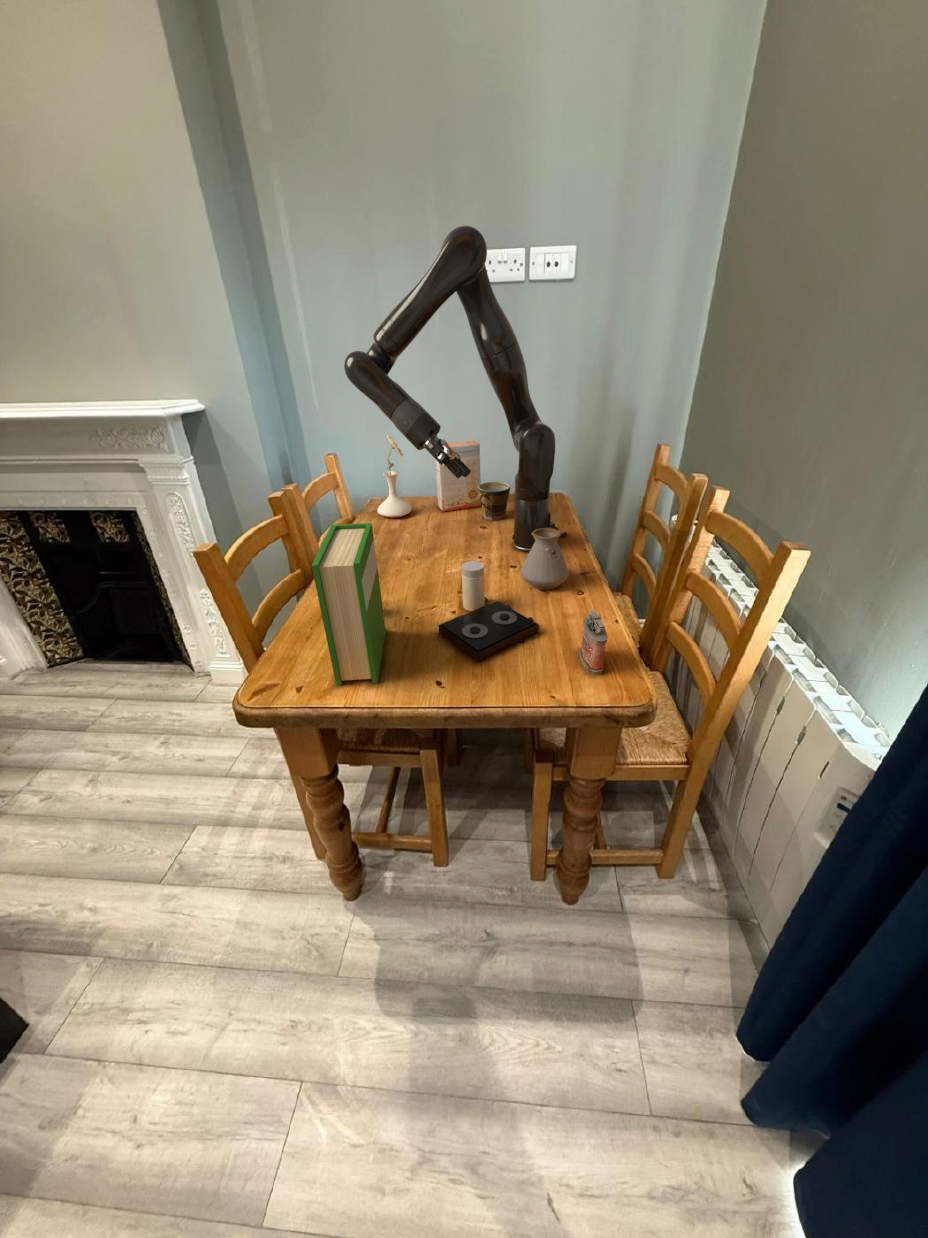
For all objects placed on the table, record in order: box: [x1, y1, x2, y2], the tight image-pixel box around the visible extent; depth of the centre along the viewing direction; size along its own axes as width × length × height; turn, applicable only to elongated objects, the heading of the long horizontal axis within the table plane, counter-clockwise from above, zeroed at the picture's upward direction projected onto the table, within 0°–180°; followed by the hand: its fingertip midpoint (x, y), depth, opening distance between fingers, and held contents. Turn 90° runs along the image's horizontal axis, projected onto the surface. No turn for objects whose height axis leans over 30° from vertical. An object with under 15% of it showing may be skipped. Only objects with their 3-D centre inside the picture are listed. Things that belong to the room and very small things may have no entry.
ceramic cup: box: [478, 481, 511, 521], centre depth 159 cm, size 13×10×10 cm
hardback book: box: [311, 522, 387, 687], centre depth 92 cm, size 18×7×24 cm, turn 3°
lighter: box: [579, 610, 608, 676], centre depth 92 cm, size 8×3×10 cm, turn 5°
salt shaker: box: [461, 560, 486, 612], centre depth 112 cm, size 5×5×10 cm
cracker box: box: [434, 440, 482, 512], centre depth 167 cm, size 14×6×21 cm, turn 108°
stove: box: [437, 600, 539, 663], centre depth 104 cm, size 17×13×3 cm
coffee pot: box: [520, 528, 570, 590], centre depth 115 cm, size 21×12×15 cm, turn 177°
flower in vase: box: [376, 434, 413, 518], centre depth 162 cm, size 13×11×25 cm
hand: (465, 475), depth 117 cm, fingers open, 8 cm apart
